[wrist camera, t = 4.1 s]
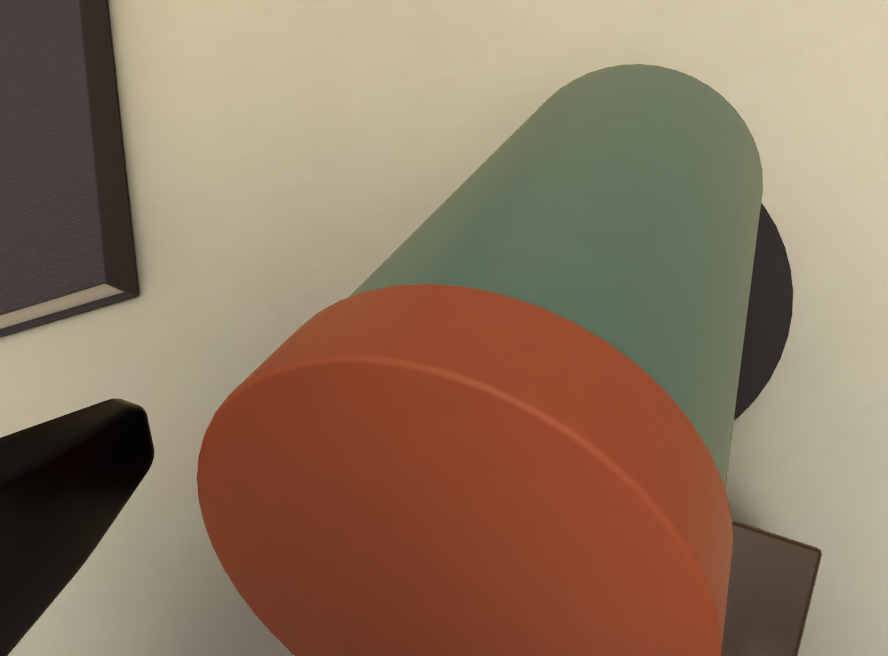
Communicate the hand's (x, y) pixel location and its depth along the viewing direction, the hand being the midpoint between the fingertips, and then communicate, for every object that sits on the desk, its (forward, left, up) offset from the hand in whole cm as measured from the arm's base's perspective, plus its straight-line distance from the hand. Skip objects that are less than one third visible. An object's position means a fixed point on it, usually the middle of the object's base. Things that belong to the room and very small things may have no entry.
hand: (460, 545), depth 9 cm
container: (+4, 0, -10) cm, 10 cm away
